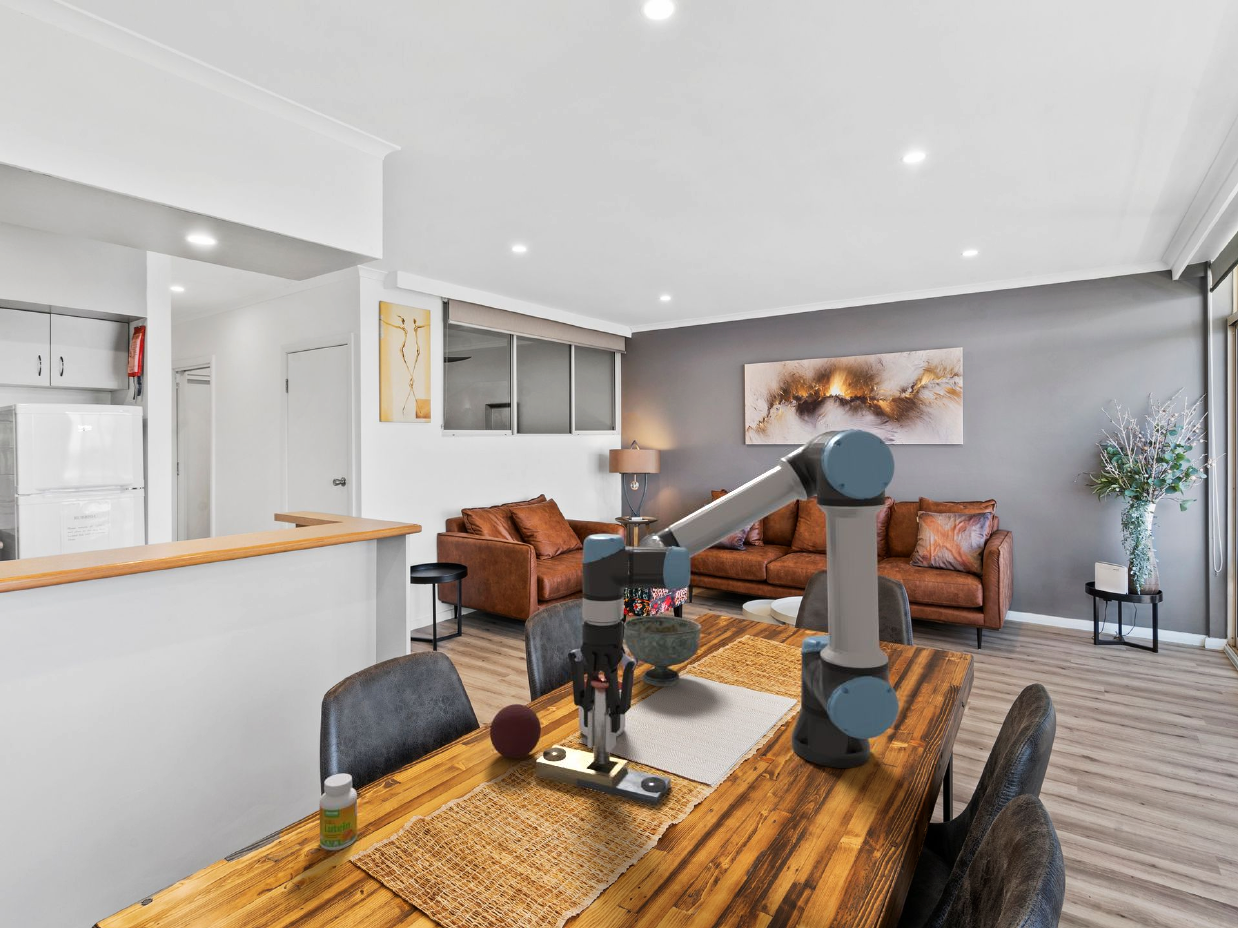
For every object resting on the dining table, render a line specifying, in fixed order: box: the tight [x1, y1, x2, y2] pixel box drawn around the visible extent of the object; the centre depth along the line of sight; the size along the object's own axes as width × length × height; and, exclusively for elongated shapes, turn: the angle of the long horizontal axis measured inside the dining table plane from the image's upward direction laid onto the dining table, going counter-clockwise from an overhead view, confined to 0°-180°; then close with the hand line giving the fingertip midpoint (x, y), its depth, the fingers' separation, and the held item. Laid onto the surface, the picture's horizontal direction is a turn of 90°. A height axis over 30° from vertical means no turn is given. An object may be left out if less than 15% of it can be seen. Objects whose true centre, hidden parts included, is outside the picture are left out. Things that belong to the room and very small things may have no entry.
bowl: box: [623, 615, 702, 687], centre depth 173 cm, size 20×19×15 cm
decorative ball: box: [489, 703, 542, 759], centre depth 131 cm, size 10×10×10 cm
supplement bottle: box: [319, 773, 358, 851], centre depth 103 cm, size 5×5×10 cm
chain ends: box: [535, 744, 671, 807], centre depth 121 cm, size 24×7×3 cm, turn 66°
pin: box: [590, 674, 611, 764], centre depth 120 cm, size 4×4×15 cm
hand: (601, 746), depth 121 cm, fingers closed on pin, 3 cm apart
